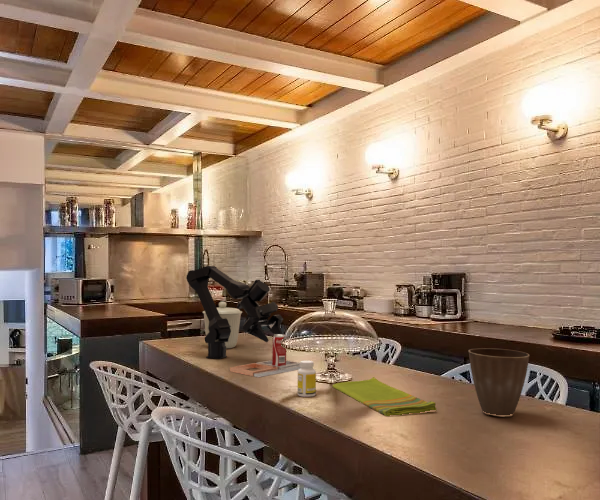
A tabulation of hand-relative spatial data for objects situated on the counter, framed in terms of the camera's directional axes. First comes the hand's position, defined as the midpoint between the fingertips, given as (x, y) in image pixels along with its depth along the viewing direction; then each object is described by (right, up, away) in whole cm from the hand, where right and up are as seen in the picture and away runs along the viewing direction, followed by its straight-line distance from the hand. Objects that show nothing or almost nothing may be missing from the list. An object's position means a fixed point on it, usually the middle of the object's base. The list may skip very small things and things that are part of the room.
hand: (275, 340), depth 208 cm
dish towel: (+32, -10, -49) cm, 60 cm away
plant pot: (+61, -9, -65) cm, 89 cm away
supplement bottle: (+11, -9, -46) cm, 48 cm away
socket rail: (-2, -9, -7) cm, 12 cm away
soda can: (+1, -10, -1) cm, 10 cm away
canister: (-27, -11, +45) cm, 54 cm away
